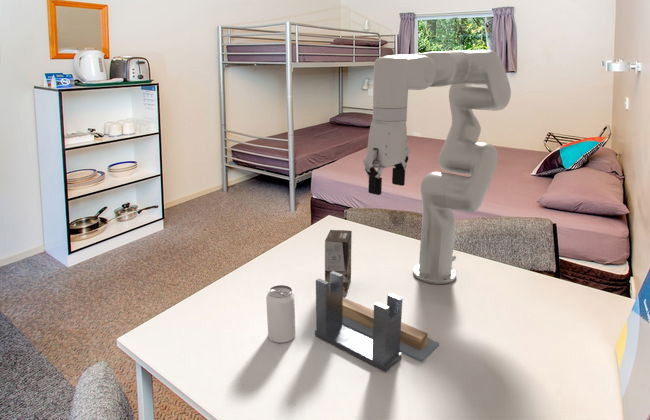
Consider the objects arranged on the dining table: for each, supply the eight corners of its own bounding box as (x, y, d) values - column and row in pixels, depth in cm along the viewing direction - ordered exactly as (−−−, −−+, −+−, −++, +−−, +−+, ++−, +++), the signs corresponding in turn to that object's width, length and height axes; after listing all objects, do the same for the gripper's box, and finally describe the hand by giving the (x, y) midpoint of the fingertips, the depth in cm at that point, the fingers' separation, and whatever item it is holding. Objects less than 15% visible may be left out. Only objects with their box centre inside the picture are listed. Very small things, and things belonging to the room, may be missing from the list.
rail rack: (331, 325, 111) (331, 270, 106) (401, 359, 98) (404, 298, 94) (314, 336, 107) (314, 279, 102) (385, 372, 94) (388, 310, 89)
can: (280, 325, 111) (278, 281, 107) (301, 333, 108) (299, 289, 104) (262, 338, 106) (259, 292, 102) (283, 347, 103) (282, 301, 99)
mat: (344, 303, 121) (344, 301, 120) (439, 345, 103) (439, 343, 103) (324, 316, 115) (324, 314, 115) (421, 362, 97) (422, 359, 97)
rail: (344, 308, 117) (344, 298, 116) (426, 344, 102) (427, 333, 101) (337, 312, 115) (337, 302, 114) (420, 350, 100) (420, 339, 99)
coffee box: (347, 296, 124) (347, 242, 119) (324, 294, 126) (323, 240, 120) (351, 281, 133) (352, 230, 128) (330, 279, 134) (330, 228, 129)
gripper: (396, 110, 109) (393, 179, 114) (352, 117, 96) (351, 194, 102) (424, 112, 104) (419, 184, 110) (381, 120, 92) (379, 201, 97)
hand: (386, 189), depth 106 cm, fingers open, 9 cm apart
